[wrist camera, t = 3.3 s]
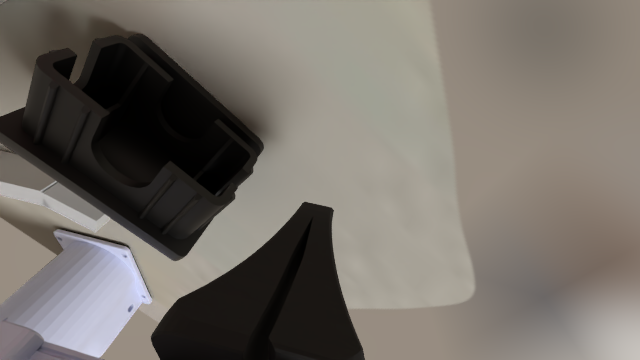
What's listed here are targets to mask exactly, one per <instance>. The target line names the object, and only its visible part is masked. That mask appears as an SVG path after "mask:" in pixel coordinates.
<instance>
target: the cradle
mask: <svg viewBox="0 0 640 360" xmlns="http://www.w3.org/2000/svg"><path fill="white" fill-rule="evenodd" d="M5 1H7V0H0V5H1V4H2V3H4V2H5ZM0 195H1V196H5V197H9V198H13V199H17V200H21V201H25V202H29V203H33V204H37V205H41V206H45V207H47V208H49V209H51V210H53V211H54V212H56V213H58V214H60V215H62V216H64V217H66V218H68V219H70V220H72V221H74V222H76V223H78V224H80V225H82V226H83V227H85V228H87V229H89V230H91V231H93V232H95V233H96V232H97V231H98V230H99V229H100V228H101V227H102V226H103V225H105V224H106V223H107V222H108V221H109V220H110V219H111V218H110V217H108V216H107V215H105V214H104V213H103V212H101V211H100V210H98V209H97V208H95V207H94V206H92V205H91V204H89V203H88V202H86V201H85V200H83V199H82V198H81V197H79V196H78V195H76V194H75V193H73V192H72V191H70V190H69V189H67V188H66V187H64V186H63V185H61V184H60V183H59V182H57V181H56V180H54V179H53V178H51V177H50V176H48V175H47V174H45V173H44V172H42V171H41V170H39V169H38V168H37V167H35V166H34V165H32V164H31V163H29V162H28V161H26V160H25V159H23V158H22V157H20V156H19V155H18V154H14V153H10V152H5V151H1V150H0Z"/></svg>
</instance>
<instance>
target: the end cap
mask: <svg viewBox="0 0 640 360" xmlns="http://www.w3.org/2000/svg"><path fill="white" fill-rule="evenodd" d="M76 57H77V55H76V54H75V53H74V52H73V51H71V50H70V49H69V48H66V49H62V50H52V51H49V53H47V54H43V55H41V56H39V57H38V58H37V60H36V64H35V68H34V73H33V77H32V81H31V86H30V90H29V94H28V99H27V103H26V107H24V108H21V109H19V110H16V111H14V112H11V113H8V114H6V115H3V116H1V117H0V143H1V144H3V145H4V146H6V147H7V148H9V149H10V150H12V151H13V152H15V153H16V154H18V155H19V156H20V157H22V158H23V159H25V160H26V161H28V162H29V163H31V164H32V165H34V166H35V167H37V168H38V169H39V170H41V171H42V172H44V173H45V174H47V175H48V176H50V177H51V178H53V179H54V180H56V181H57V182H59V183H60V184H61V185H63V186H64V187H66V188H67V189H69V190H70V191H72V192H73V193H75V194H76V195H78V196H79V197H81V198H82V199H83V200H85V201H86V202H88V203H89V204H91V205H92V206H94V207H95V208H97V209H98V210H100V211H101V212H103V213H104V214H105V215H107V216H108V217H110V218H111V219H113V220H114V221H116V222H117V223H119V224H120V225H122V226H123V227H125V228H126V229H127V230H129V231H130V232H132V233H133V234H135V235H136V236H138V237H139V238H141V239H142V240H144V241H145V242H147V243H148V244H149V245H151V246H152V247H154V248H155V249H157V250H158V251H160V252H161V253H163V254H164V255H166V256H167V257H169V258H170V259H171V260H173V261H178V260H180V259H182V258H183V257H185V256H186V255H187V254H188V253H189V251H190V250H191V248H192V247H193V246H194V244H195V243H196V242H197V240H198V239H199V237H200V236H201V235H202V233H203V232H204V231H205V229H206V228H207V226H208V225H209V224H210V222H211V221H212V220H213V218H214V217H215V216H216V215H217V214H218V213H220V212H221V211H222V210H223V209H224V208H225V207H226V206H228V205H229V204H230V203H231V202H232V201H233V200H234V199H235V193H234V192H235V191H236V190H237V188H238V186H239V185H240V184H241V183H243V182H244V181H245V180H246V179H247V178H248V177H249V176H250V175H251V174H252V173H253V166H254V164H255V163H256V162H257V157H258V156H259V155H260V154H261V152H262V151H263V149H264V145H263V142H262V141H261V140H260V139H259V138H258V137H257V136H256V135H255V134H254V133H253V132H252V131H250V130H249V129H248V128H247V127H246V126H245V125H244V124H243V123H242V122H241V121H239V120H238V119H237V118H236V117H235V116H234V115H233V114H232V113H231V112H230V111H228V110H227V109H226V108H225V107H224V106H223V105H222V104H221V103H220V102H219V101H217V100H216V99H215V98H214V97H213V96H212V95H211V94H210V93H209V92H207V91H206V90H205V89H204V88H203V87H202V86H201V85H200V84H199V83H198V82H196V81H195V80H194V79H193V78H192V77H191V76H190V75H189V74H188V73H187V72H185V71H184V70H183V69H182V68H181V67H180V66H179V65H178V64H177V63H176V62H174V61H173V60H172V59H171V58H170V57H169V56H168V55H167V54H166V53H165V52H163V51H162V50H161V49H160V48H159V47H158V46H157V45H156V44H155V43H153V42H152V41H151V40H150V39H149V38H148V37H146V36H145V35H143V34H136V35H133V36H130V37H129V38H128V39H126V38H124V37H121V36H110V37H106V38H97V39H95V41H93V43H92V46H91V48H90V51H89V54H88V57H87V59H86V62H85V65H84V68H83V71H82V73H81V76H80V78H79V79H78V81H77V82H76V83H74V84H72V83H71V82H70V81H69V78H70V75H71V72H72V69H73V66H74V63H75V60H76Z"/></svg>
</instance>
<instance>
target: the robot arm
mask: <svg viewBox="0 0 640 360" xmlns="http://www.w3.org/2000/svg"><path fill="white" fill-rule="evenodd" d="M333 211H334V210H333V209H332V208H330V207H326V206H322V205H317V204H313V203H308V202H304V203H302V205H301V206H300V207H299V209H298V210H297V211H296V213H295V214H294V215H293V216H292V217H291V218H290V220H289V221H288V222H287V223H286V224H285V225H284V226H283V227H282V228H281V229H280V230H279V231H278V232H277V233H276V234H275V235H274V236H273V237H272V238H271V239H270V240H269V241H268V242H267V243H265V244H264V245H263V246H262V247H261V248H260V249H258V250H257V251H256V252H255V253H254V254H252V255H251V256H250V257H248V258H247V259H246V260H244V261H243V262H242V263H240V264H239V265H237V266H236V267H235V268H233V269H232V270H230V271H228V272H227V273H225V274H224V275H222V276H220V277H219V278H217V279H215V280H214V281H212V282H210V283H209V284H207V285H205V286H203V287H201V288H199V289H197V290H195V291H193V292H191V293H189V294H187V295H185V296H183V297H181V298H179V299H178V300H177V301H176V302H175V303H174V305H173V306H172V307H171V308H170V309H169V310H168V312H167V313H166V314H165V316H164V317H163V319H162V320H161V322H160V323H159V325H158V326H157V328H156V329H155V331H154V332H153V334H152V336H151V341H152V344H153V346H154V348H155V350H156V352H157V354H158V356H159V358H160V360H365V358H364V353H363V348H362V346H361V343H360V341H359V339H358V337H357V334H356V332H355V329H354V327H353V324H352V322H351V319H350V316H349V314H348V310H347V307H346V304H345V301H344V298H343V295H342V291H341V287H340V284H339V279H338V275H337V270H336V265H335V259H334V253H333V244H332V217H333ZM53 234H54V236H55V237H56V239H57V240H58V242H59V243H60V245H61V246H62V248H63V251H62V252H61V253H60V254H59V255H57V256H56V257H55V258H54V259H53V260H52V261H51V262H49V263H48V264H47V265H46V266H45V267H44V268H42V269H41V270H40V271H39V272H38V273H37V274H36V275H34V276H33V277H32V278H31V279H30V280H28V281H27V282H26V283H25V284H24V285H23V286H22V287H20V288H19V289H18V290H17V291H16V292H15V293H13V294H12V295H11V296H10V297H9V298H8V299H6V300H5V301H4V302H3V303H2V304H1V305H0V360H104V359H100V357H101V356H102V355H103V353H104V352H105V351H106V350H107V348H108V347H109V346H110V344H111V343H112V342H113V340H114V339H115V338H116V337H117V335H118V334H119V333H120V331H121V330H122V329H123V327H124V326H125V325H126V323H127V322H128V321H129V319H130V318H131V316H132V315H133V314H134V313H135V311H136V310H137V309H138V307H139V306H140V305H141V303H145V304H150V303H151V302H152V299H151V297H150V294H149V292H148V290H147V287H146V285H145V283H144V281H143V278H142V276H141V274H140V272H139V269H138V267H137V265H136V263H135V260H134V258H133V256H132V254H131V251H130V249H129V248H127V247H126V246H122V245H118V244H115V243H111V242H107V241H103V240H99V239H95V238H91V237H87V236H83V235H80V234H76V233H72V232H68V231H64V230H60V229H56V230H55V231H54V232H53Z"/></svg>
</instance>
